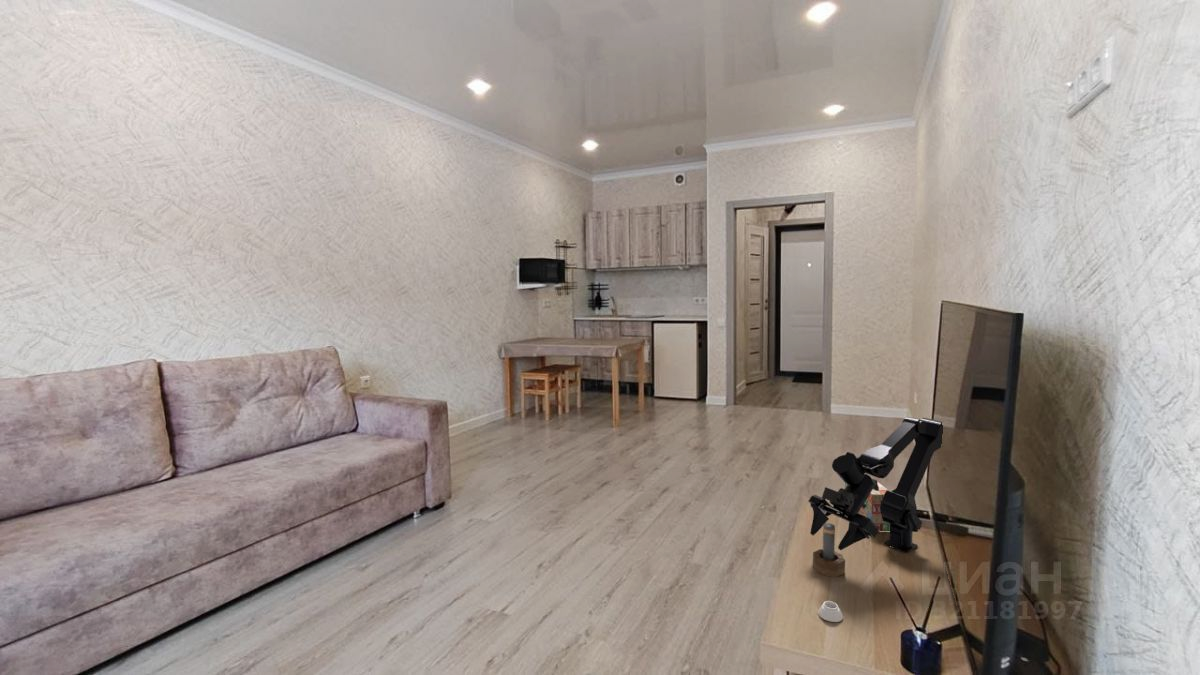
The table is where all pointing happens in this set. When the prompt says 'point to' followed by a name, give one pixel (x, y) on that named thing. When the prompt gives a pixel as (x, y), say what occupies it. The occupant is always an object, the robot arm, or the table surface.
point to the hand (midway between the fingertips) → (825, 541)
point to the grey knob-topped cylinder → (828, 541)
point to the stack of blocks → (875, 508)
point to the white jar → (830, 612)
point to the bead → (828, 564)
